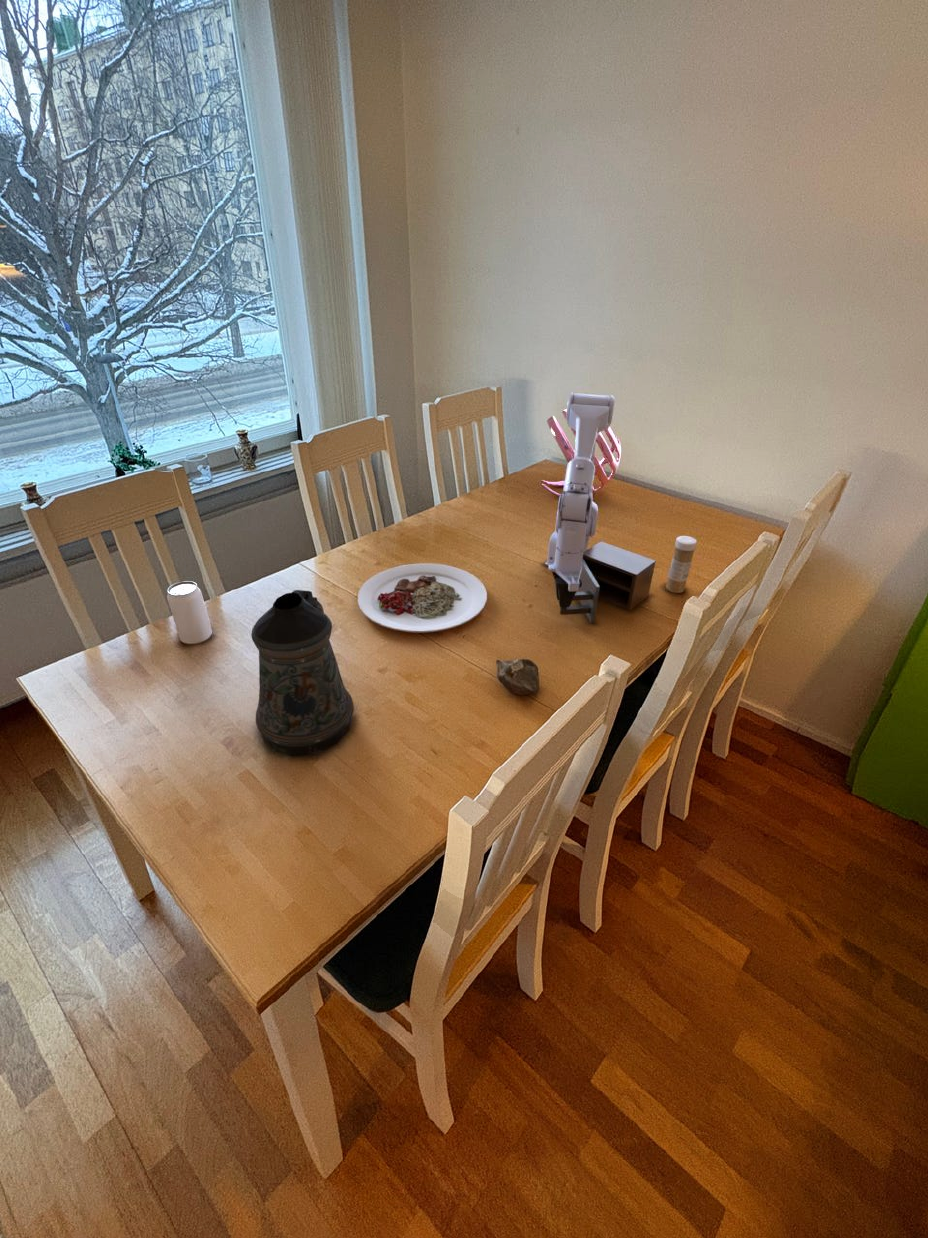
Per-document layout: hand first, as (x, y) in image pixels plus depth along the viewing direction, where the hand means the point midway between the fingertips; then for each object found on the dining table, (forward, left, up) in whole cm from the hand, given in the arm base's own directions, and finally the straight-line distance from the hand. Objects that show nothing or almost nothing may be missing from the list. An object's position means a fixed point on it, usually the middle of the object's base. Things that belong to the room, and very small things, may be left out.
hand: (563, 602), depth 131 cm
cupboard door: (-2, +5, -4) cm, 7 cm away
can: (-53, -59, -4) cm, 80 cm away
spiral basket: (-39, +66, -4) cm, 77 cm away
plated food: (-28, -16, -4) cm, 33 cm away
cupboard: (+2, +18, -4) cm, 19 cm away
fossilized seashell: (+7, -25, -4) cm, 26 cm away
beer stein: (-15, -58, -4) cm, 60 cm away
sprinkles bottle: (+13, +30, -4) cm, 33 cm away
